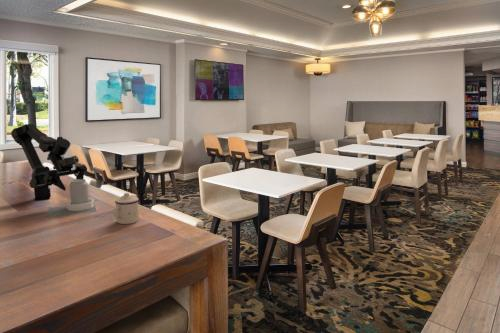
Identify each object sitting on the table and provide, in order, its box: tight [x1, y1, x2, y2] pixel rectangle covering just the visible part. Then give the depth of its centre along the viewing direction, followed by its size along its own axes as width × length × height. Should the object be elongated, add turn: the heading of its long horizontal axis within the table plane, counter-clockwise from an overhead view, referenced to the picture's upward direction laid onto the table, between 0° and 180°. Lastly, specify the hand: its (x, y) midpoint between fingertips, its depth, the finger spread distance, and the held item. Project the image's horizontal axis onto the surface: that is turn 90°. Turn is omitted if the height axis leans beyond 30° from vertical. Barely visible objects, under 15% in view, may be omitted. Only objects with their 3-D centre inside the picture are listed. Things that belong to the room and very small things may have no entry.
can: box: [69, 178, 90, 204], centre depth 170 cm, size 8×8×12 cm
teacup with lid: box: [112, 192, 140, 225], centre depth 152 cm, size 12×9×12 cm
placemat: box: [47, 203, 97, 218], centre depth 168 cm, size 19×16×1 cm
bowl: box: [66, 197, 95, 211], centre depth 171 cm, size 11×11×3 cm
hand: (74, 188), depth 171 cm, fingers open, 9 cm apart
